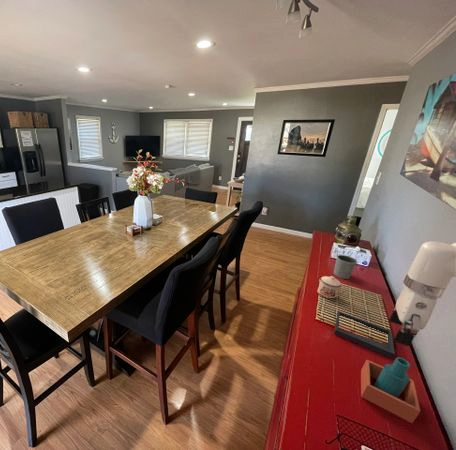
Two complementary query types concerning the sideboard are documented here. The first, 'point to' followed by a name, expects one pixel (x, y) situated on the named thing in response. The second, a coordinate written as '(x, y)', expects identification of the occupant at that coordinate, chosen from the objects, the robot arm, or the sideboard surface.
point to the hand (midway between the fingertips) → (398, 332)
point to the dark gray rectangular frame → (366, 342)
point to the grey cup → (344, 266)
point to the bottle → (393, 377)
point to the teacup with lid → (330, 287)
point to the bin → (385, 400)
